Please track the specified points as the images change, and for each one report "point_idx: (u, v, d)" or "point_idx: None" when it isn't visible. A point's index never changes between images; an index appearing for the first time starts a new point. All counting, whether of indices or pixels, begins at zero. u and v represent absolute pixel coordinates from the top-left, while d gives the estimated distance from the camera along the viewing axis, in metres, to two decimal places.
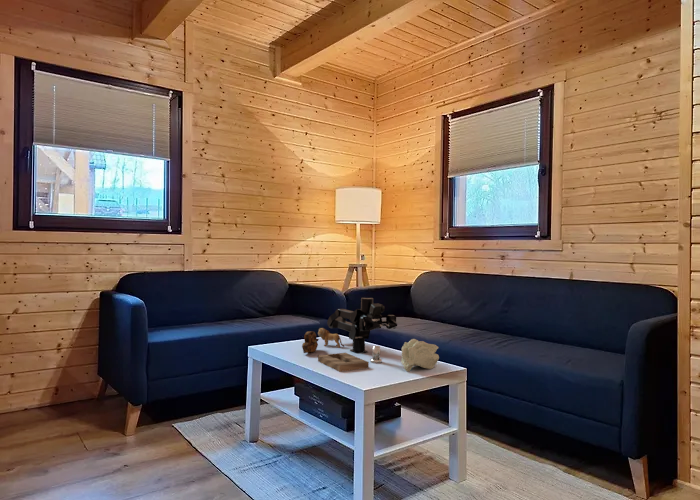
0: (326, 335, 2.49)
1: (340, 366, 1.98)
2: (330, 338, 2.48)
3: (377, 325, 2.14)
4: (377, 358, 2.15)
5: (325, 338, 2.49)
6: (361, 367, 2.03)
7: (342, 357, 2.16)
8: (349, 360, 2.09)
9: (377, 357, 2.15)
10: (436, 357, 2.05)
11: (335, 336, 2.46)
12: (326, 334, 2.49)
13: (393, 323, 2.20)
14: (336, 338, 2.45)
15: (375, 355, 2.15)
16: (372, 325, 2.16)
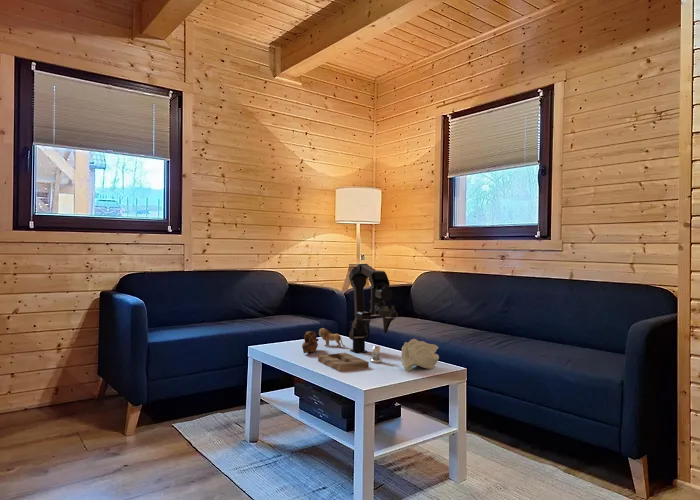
0: (327, 335, 2.48)
1: (340, 366, 1.98)
2: (331, 338, 2.47)
3: (367, 332, 2.14)
4: (377, 358, 2.15)
5: (326, 338, 2.48)
6: (361, 367, 2.03)
7: (342, 357, 2.16)
8: (349, 360, 2.09)
9: (377, 357, 2.15)
10: (436, 357, 2.05)
11: (336, 336, 2.46)
12: (327, 334, 2.49)
13: (385, 327, 2.18)
14: (337, 338, 2.45)
15: (375, 355, 2.15)
16: (365, 325, 2.14)
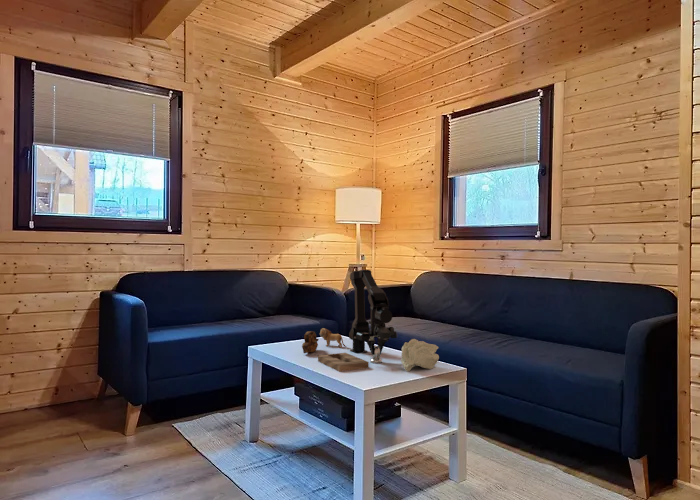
0: (328, 335, 2.48)
1: (340, 366, 1.98)
2: (332, 338, 2.47)
3: (372, 352, 2.15)
4: (377, 358, 2.15)
5: (327, 338, 2.48)
6: (361, 367, 2.03)
7: (342, 357, 2.16)
8: (349, 360, 2.09)
9: (377, 357, 2.15)
10: (436, 357, 2.05)
11: (337, 336, 2.45)
12: (328, 334, 2.48)
13: None
14: (338, 338, 2.45)
15: (375, 355, 2.15)
16: (370, 345, 2.15)
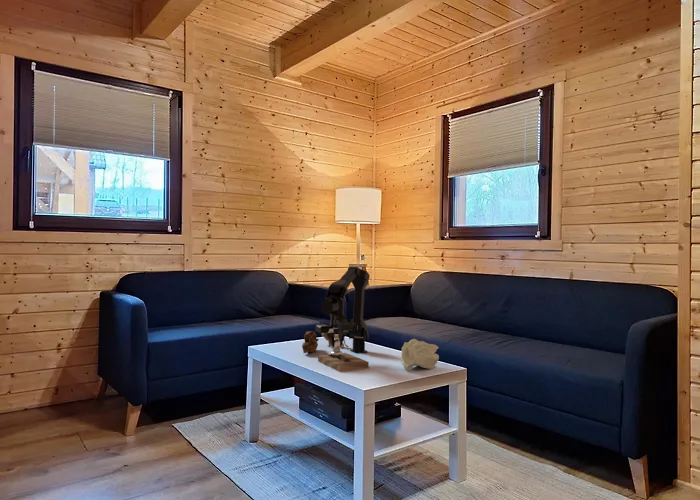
0: None
1: (340, 366, 1.98)
2: None
3: (332, 345, 2.14)
4: (337, 350, 2.14)
5: None
6: (361, 367, 2.03)
7: (342, 357, 2.16)
8: (349, 360, 2.09)
9: (337, 349, 2.14)
10: (436, 357, 2.05)
11: None
12: None
13: (340, 340, 2.16)
14: None
15: (335, 347, 2.14)
16: (330, 337, 2.14)
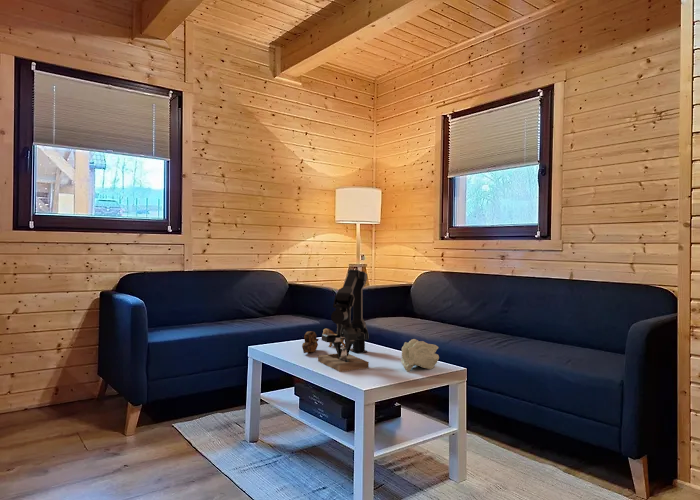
0: None
1: (340, 366, 1.98)
2: None
3: (338, 354, 2.08)
4: (344, 360, 2.08)
5: None
6: (361, 367, 2.03)
7: None
8: (349, 360, 2.09)
9: (344, 359, 2.08)
10: (436, 357, 2.05)
11: None
12: None
13: (347, 350, 2.10)
14: None
15: (342, 357, 2.08)
16: (336, 347, 2.08)
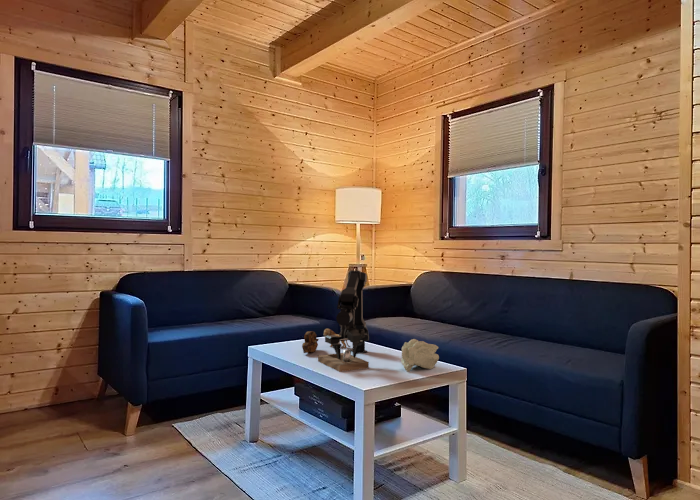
0: None
1: (340, 366, 1.98)
2: None
3: (338, 356, 2.05)
4: None
5: None
6: (361, 367, 2.03)
7: (342, 357, 2.16)
8: None
9: (348, 361, 2.05)
10: (436, 357, 2.05)
11: None
12: None
13: (354, 351, 2.08)
14: None
15: (345, 359, 2.05)
16: (336, 349, 2.05)
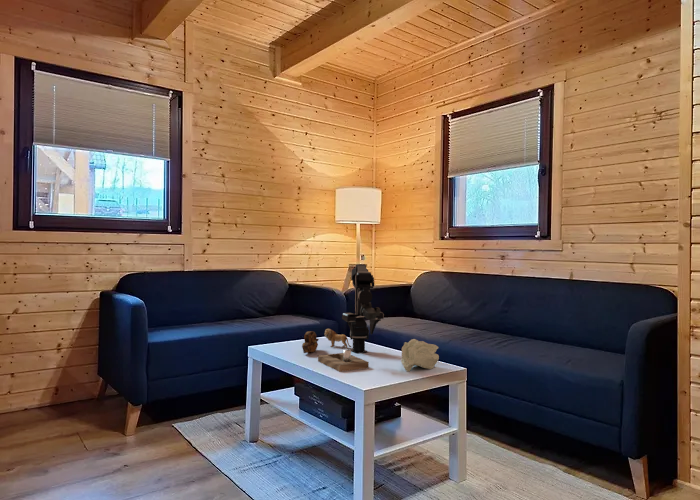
0: (333, 336, 2.47)
1: (340, 366, 1.98)
2: (337, 339, 2.46)
3: (352, 333, 2.14)
4: None
5: (332, 339, 2.47)
6: (361, 367, 2.03)
7: (342, 357, 2.16)
8: None
9: (348, 361, 2.05)
10: (436, 357, 2.05)
11: (342, 337, 2.44)
12: (333, 335, 2.47)
13: (371, 328, 2.18)
14: (343, 339, 2.44)
15: (345, 359, 2.05)
16: (351, 326, 2.14)
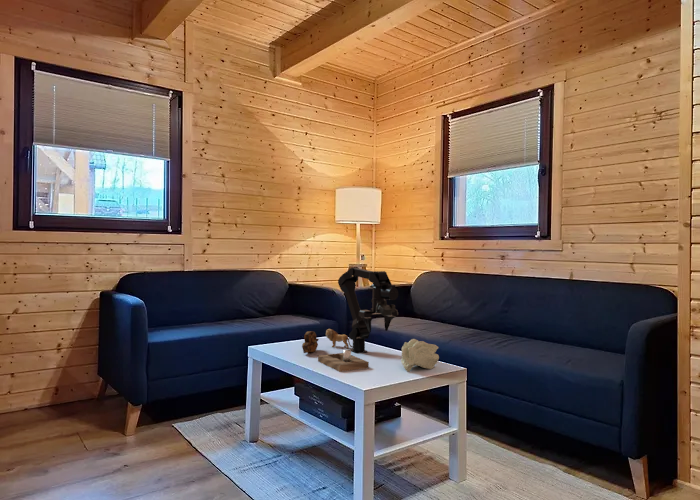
0: (334, 336, 2.47)
1: (340, 366, 1.98)
2: (338, 339, 2.46)
3: (369, 329, 2.23)
4: None
5: (333, 339, 2.46)
6: (361, 367, 2.03)
7: (342, 357, 2.16)
8: None
9: (348, 361, 2.05)
10: (436, 357, 2.05)
11: (343, 337, 2.44)
12: (334, 335, 2.47)
13: (386, 325, 2.28)
14: (345, 339, 2.44)
15: (345, 359, 2.05)
16: (367, 323, 2.23)
